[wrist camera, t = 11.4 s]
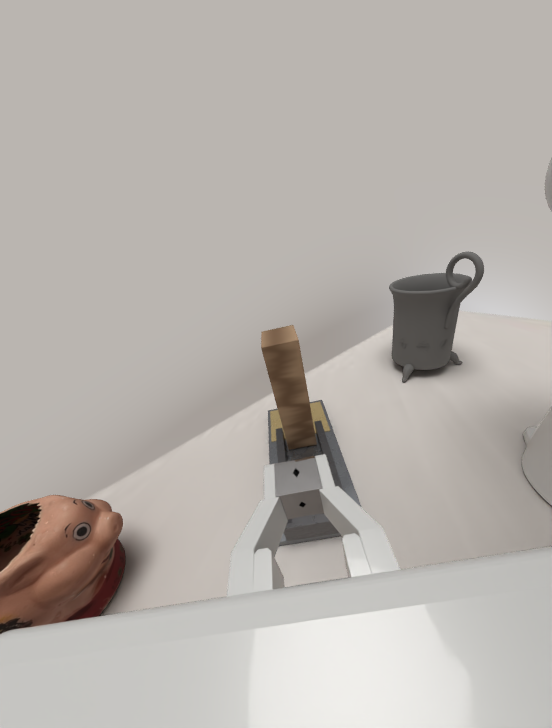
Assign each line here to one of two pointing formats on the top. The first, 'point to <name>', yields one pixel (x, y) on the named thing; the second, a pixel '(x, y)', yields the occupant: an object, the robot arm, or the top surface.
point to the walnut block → (289, 385)
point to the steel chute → (326, 444)
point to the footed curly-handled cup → (429, 316)
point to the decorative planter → (58, 561)
